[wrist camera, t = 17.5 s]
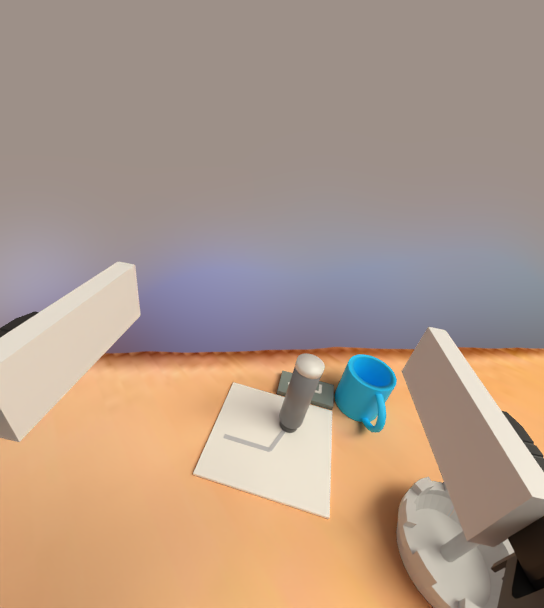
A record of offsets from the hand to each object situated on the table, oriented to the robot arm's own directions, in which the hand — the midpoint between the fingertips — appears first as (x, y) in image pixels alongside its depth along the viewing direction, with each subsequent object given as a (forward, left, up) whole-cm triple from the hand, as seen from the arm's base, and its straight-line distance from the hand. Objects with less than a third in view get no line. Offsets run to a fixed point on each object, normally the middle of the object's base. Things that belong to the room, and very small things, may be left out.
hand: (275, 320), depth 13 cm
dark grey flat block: (+6, +26, -32) cm, 42 cm away
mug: (+16, +25, -32) cm, 44 cm away
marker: (+4, +18, -31) cm, 36 cm away
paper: (+2, +15, -32) cm, 35 cm away
